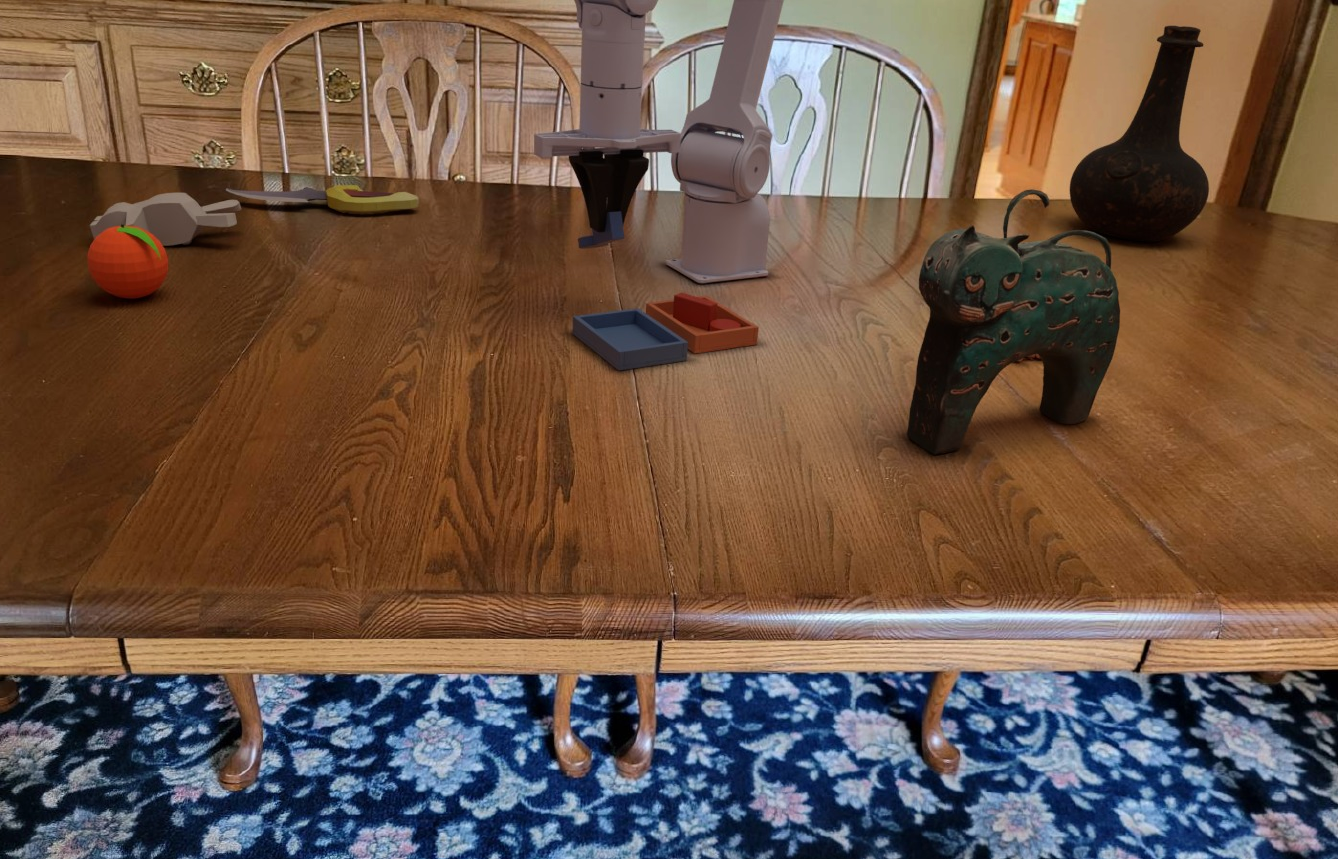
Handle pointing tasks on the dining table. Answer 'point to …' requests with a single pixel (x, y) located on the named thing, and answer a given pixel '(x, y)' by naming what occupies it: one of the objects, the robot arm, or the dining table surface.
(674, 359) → the blue tray
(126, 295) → the clementine
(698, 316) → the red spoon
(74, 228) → the dining table surface
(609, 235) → the blue stepped block
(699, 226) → the robot arm
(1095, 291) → the ceramic cat
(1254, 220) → the dining table surface
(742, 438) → the dining table surface
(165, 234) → the bunny figurine
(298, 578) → the dining table surface
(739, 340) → the red tray
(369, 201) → the knife
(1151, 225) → the glass bottle
